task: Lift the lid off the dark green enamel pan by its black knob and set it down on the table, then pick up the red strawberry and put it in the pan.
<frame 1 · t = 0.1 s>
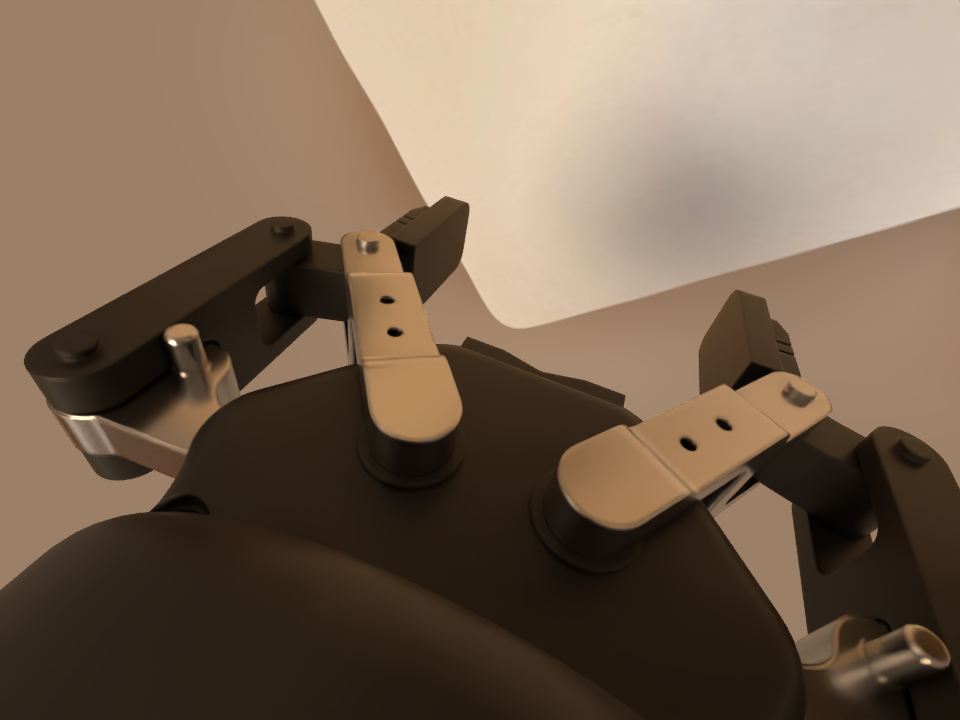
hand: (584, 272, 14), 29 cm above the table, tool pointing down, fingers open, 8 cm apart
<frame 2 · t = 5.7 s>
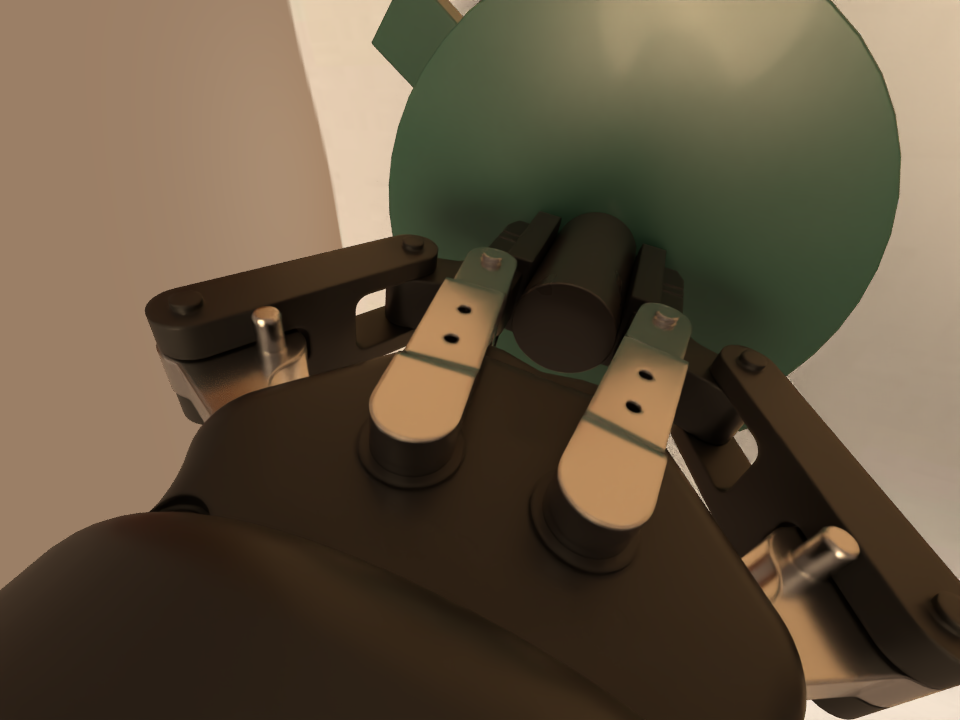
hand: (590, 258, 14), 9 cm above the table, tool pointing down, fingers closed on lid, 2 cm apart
pan: (622, 183, 21), on the table
lid: (596, 245, 15), point 8 cm above the table, touching gripper, pan
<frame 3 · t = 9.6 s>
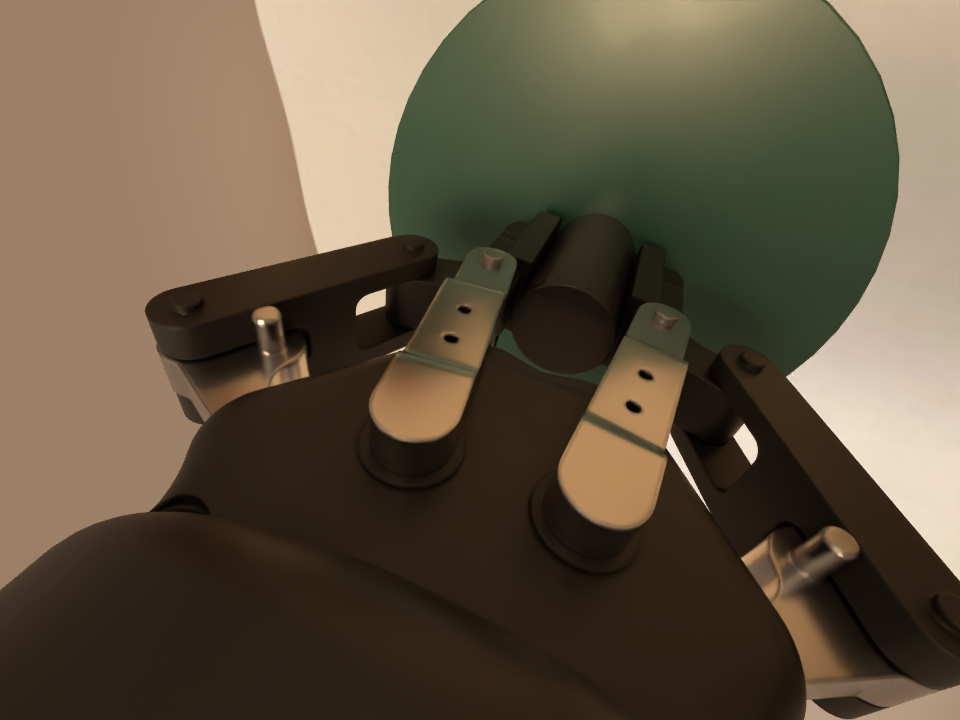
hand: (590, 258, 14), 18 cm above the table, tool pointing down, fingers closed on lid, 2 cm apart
lid: (596, 246, 15), point 17 cm above the table, touching gripper
when the fingers open (2 cm above the table, at t = 13.4 s): lid stays where it is, point 1 cm above the table.
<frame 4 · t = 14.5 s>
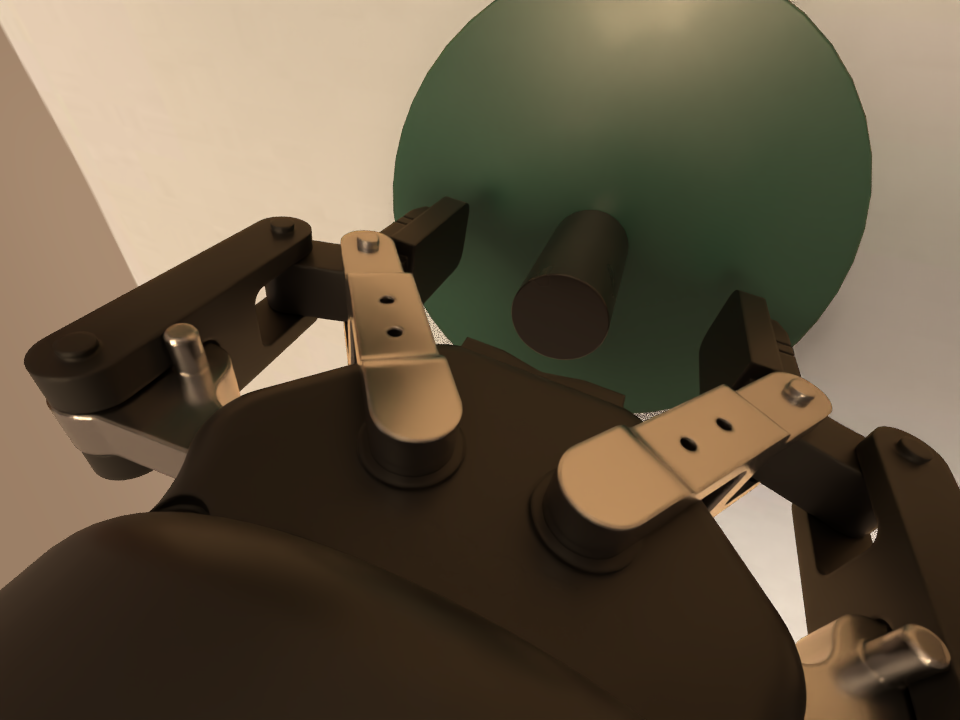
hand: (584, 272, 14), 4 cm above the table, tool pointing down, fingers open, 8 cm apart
lid: (591, 241, 16), point 1 cm above the table
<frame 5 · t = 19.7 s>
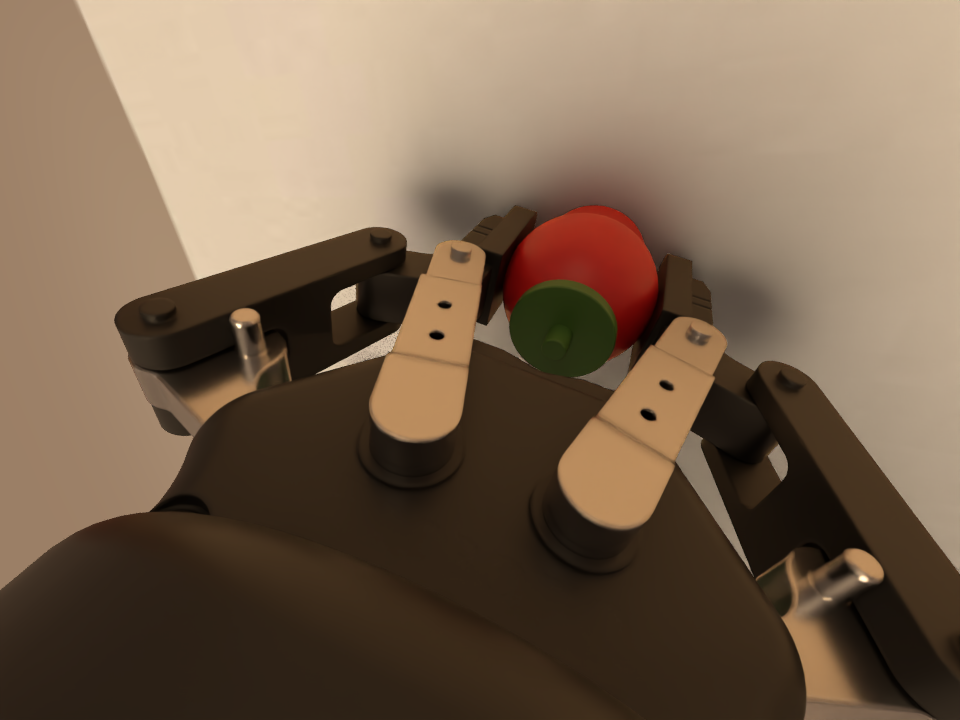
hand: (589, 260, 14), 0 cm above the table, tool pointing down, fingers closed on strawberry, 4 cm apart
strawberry: (592, 254, 15), on the table, touching gripper
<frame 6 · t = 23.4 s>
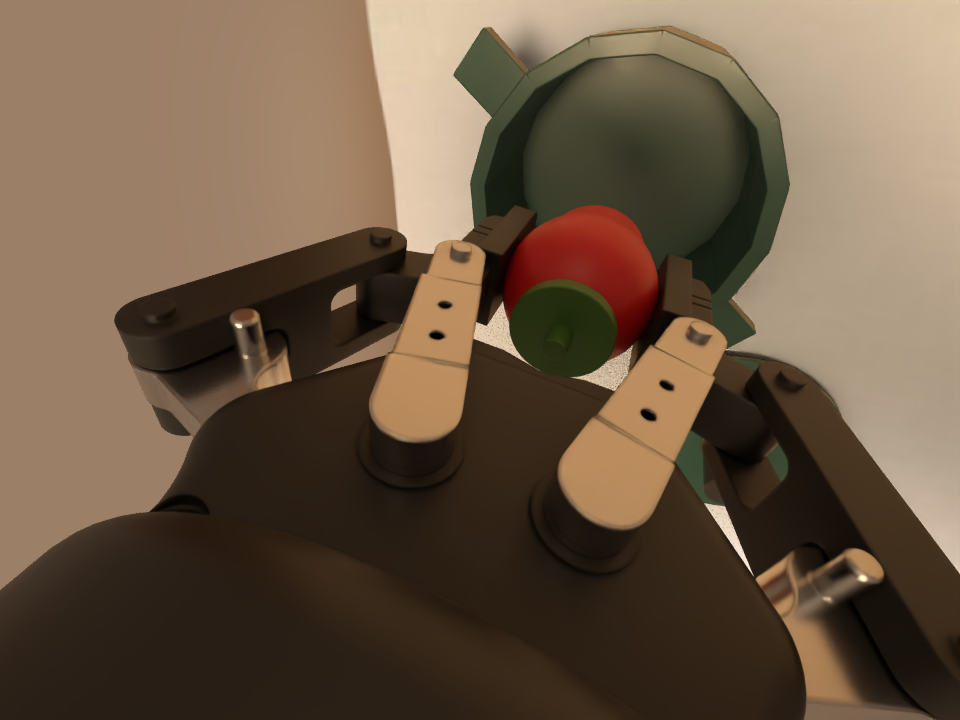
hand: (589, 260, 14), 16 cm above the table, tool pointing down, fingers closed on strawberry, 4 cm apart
pan: (626, 173, 27), on the table
lid: (720, 436, 35), point 1 cm above the table
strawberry: (592, 254, 15), point 16 cm above the table, touching gripper
when the fingers open (1 cm above the table, at t = 27.4 s): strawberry stays where it is, resting on pan.
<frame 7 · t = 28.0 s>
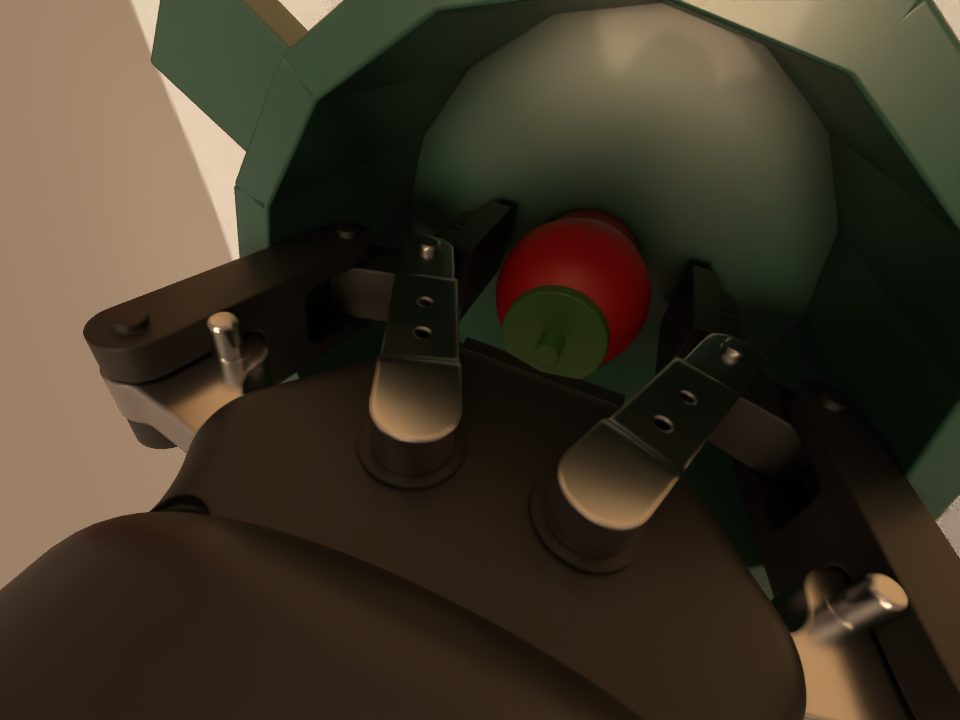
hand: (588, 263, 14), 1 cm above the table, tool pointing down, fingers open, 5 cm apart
pan: (591, 250, 15), on the table
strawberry: (586, 258, 15), resting on pan
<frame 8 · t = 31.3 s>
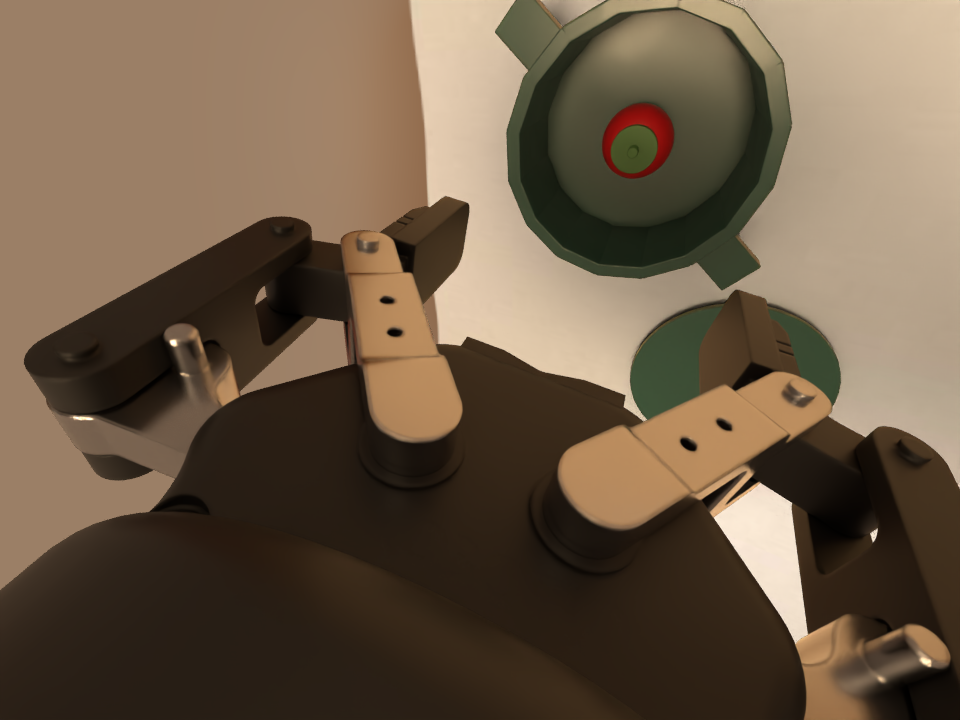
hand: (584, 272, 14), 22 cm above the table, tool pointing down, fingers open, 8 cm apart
pan: (642, 130, 30), on the table
lid: (725, 383, 38), point 1 cm above the table
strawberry: (640, 133, 30), resting on pan
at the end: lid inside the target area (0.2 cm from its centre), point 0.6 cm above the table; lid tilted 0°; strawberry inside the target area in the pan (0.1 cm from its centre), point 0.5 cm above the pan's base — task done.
